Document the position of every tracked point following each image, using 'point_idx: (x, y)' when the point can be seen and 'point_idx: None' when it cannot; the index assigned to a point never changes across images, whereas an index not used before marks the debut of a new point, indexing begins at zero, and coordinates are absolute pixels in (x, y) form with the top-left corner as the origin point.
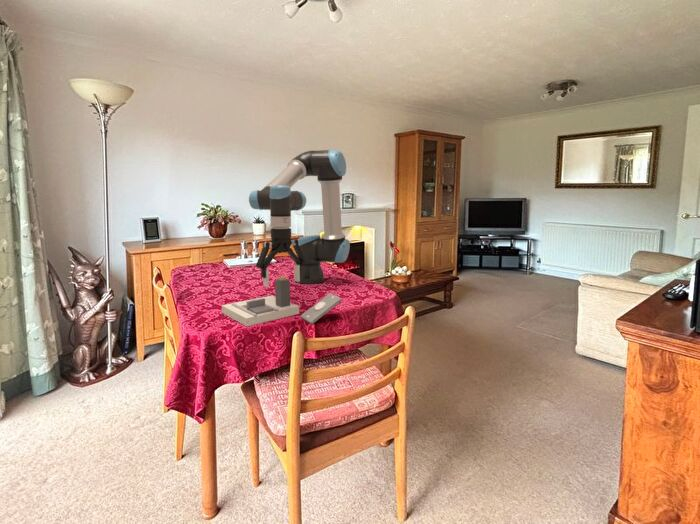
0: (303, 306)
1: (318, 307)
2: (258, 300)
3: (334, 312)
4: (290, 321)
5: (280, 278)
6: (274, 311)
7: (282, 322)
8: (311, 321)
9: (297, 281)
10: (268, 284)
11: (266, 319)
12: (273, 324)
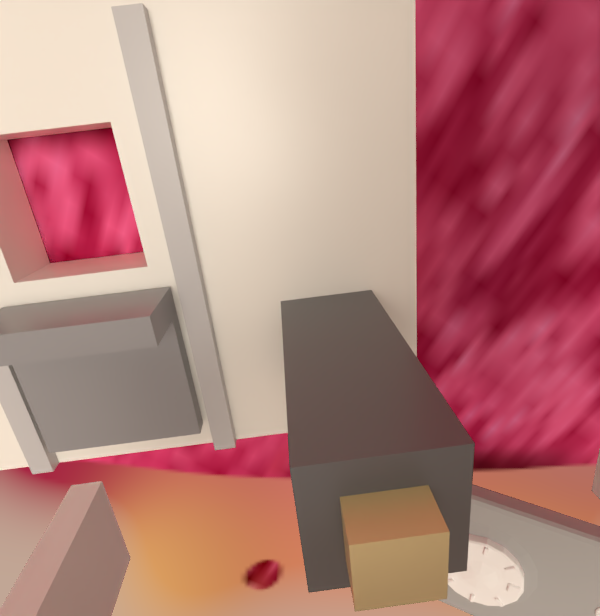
0: (527, 253)
1: (457, 575)
2: (83, 353)
3: (576, 460)
4: (282, 472)
5: (349, 570)
6: (205, 437)
7: (234, 466)
8: None
9: (595, 479)
10: (112, 591)
11: None
12: (174, 470)
